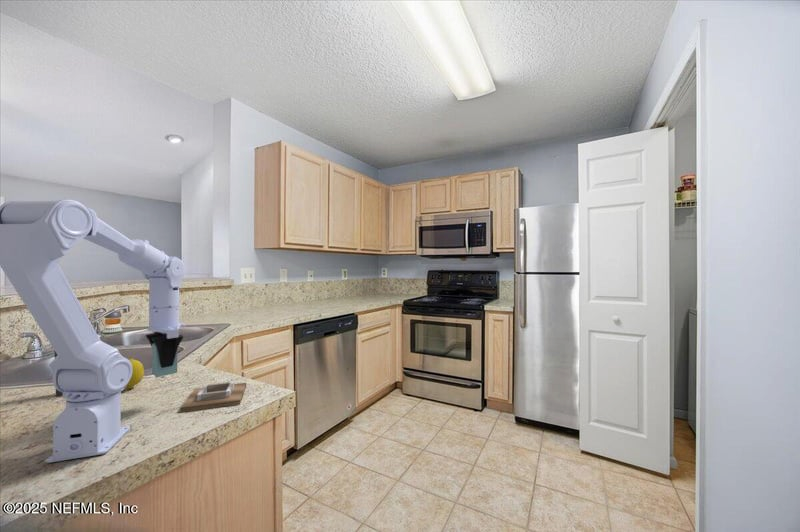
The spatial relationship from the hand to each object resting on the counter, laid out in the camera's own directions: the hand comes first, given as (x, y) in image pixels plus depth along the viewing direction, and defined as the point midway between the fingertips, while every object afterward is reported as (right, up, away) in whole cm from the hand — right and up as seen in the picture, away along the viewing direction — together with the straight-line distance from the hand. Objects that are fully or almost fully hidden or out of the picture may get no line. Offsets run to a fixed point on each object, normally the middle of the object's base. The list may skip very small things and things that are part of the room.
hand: (164, 364), depth 74 cm
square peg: (0, -2, 0) cm, 2 cm away
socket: (+10, -9, +4) cm, 14 cm away
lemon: (-17, -10, +10) cm, 22 cm away
